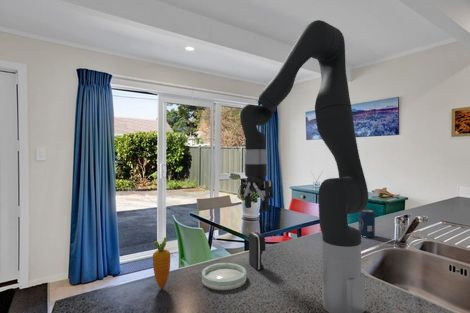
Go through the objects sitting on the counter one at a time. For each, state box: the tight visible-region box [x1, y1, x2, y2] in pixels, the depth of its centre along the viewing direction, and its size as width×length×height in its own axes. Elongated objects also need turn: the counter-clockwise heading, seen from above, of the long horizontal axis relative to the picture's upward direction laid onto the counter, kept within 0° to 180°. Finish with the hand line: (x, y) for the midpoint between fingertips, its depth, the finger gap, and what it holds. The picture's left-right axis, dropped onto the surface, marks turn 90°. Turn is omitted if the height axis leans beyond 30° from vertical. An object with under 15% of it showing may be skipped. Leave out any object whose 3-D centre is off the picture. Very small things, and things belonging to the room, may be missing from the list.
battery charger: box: [248, 232, 267, 270], centre depth 99 cm, size 7×4×11 cm, turn 21°
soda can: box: [358, 208, 376, 238], centre depth 133 cm, size 7×7×12 cm
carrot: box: [152, 236, 171, 290], centre depth 83 cm, size 5×5×15 cm
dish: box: [201, 262, 248, 291], centre depth 89 cm, size 14×14×2 cm
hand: (256, 209), depth 99 cm, fingers open, 8 cm apart
